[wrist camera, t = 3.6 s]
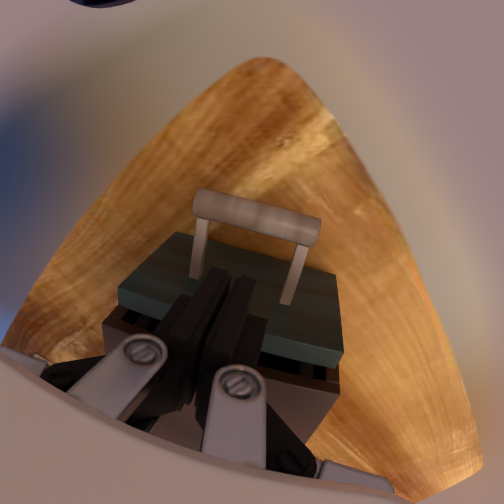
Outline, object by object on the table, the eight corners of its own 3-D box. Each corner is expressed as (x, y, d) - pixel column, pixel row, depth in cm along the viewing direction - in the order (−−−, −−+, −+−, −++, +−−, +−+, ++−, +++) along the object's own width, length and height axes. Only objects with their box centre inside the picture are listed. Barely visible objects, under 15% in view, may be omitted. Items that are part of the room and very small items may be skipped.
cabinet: (170, 248, 23) (101, 322, 14) (333, 293, 22) (340, 395, 14) (163, 373, 29) (124, 445, 21) (281, 408, 29) (267, 490, 20)
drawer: (185, 162, 19) (119, 191, 12) (359, 207, 18) (387, 262, 11) (166, 362, 27) (131, 424, 20) (283, 396, 26) (271, 467, 19)
